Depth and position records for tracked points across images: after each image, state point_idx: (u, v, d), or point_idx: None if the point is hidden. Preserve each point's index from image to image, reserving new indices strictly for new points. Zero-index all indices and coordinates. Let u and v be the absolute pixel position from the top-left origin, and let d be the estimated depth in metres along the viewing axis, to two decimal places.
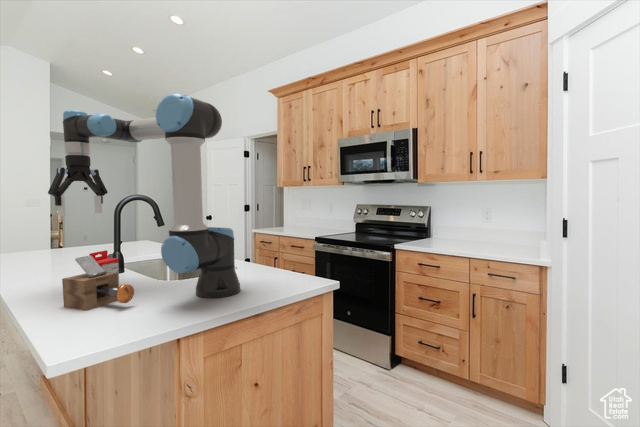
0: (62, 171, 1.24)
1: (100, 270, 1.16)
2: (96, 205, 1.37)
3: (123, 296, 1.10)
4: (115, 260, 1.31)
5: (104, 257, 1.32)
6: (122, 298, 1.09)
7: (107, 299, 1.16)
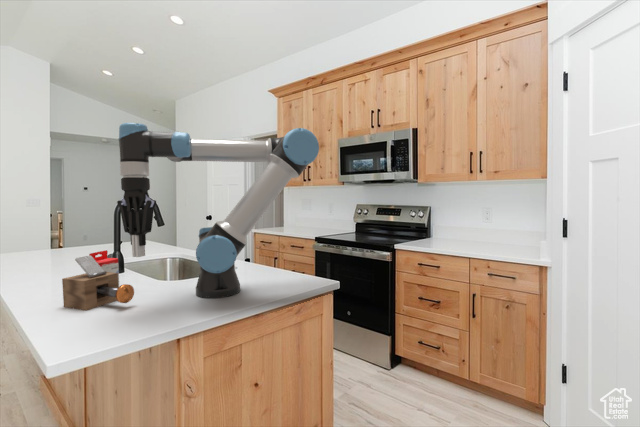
0: (119, 205, 1.08)
1: (100, 270, 1.16)
2: None
3: (123, 296, 1.10)
4: (115, 260, 1.31)
5: (104, 257, 1.32)
6: (122, 298, 1.09)
7: (107, 299, 1.16)
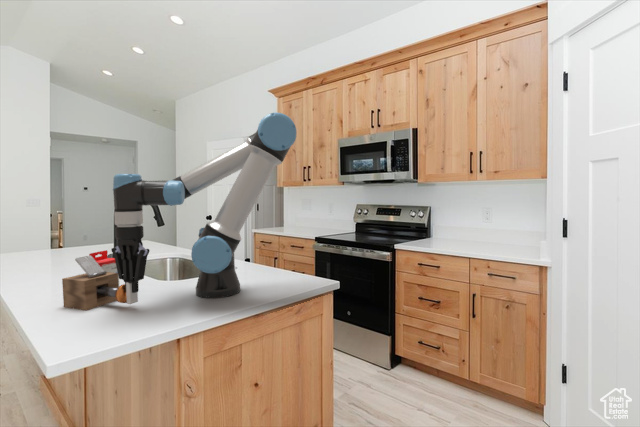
0: (113, 252, 1.10)
1: (100, 270, 1.16)
2: None
3: (122, 296, 1.10)
4: None
5: (104, 257, 1.32)
6: (121, 298, 1.09)
7: (107, 299, 1.16)
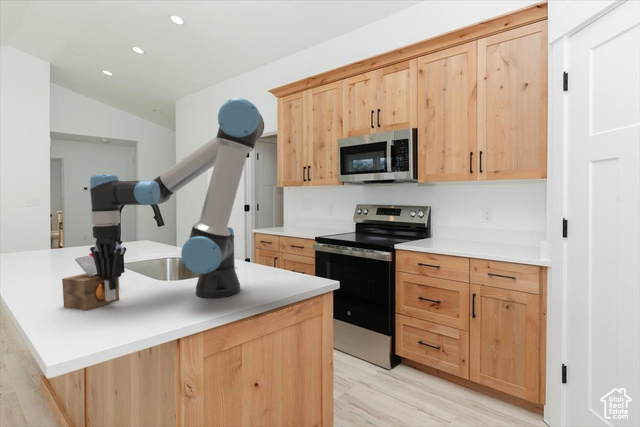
0: (92, 251, 1.13)
1: None
2: None
3: (101, 293, 1.13)
4: None
5: None
6: (101, 295, 1.13)
7: None
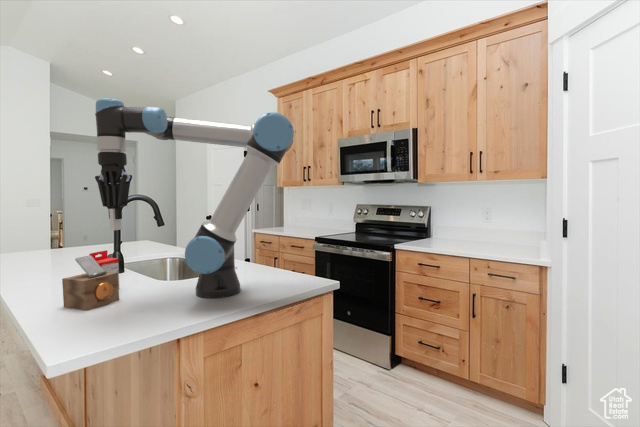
0: (97, 180, 1.11)
1: (100, 270, 1.16)
2: None
3: (101, 293, 1.13)
4: (115, 260, 1.31)
5: (104, 257, 1.32)
6: (101, 295, 1.13)
7: (107, 299, 1.16)
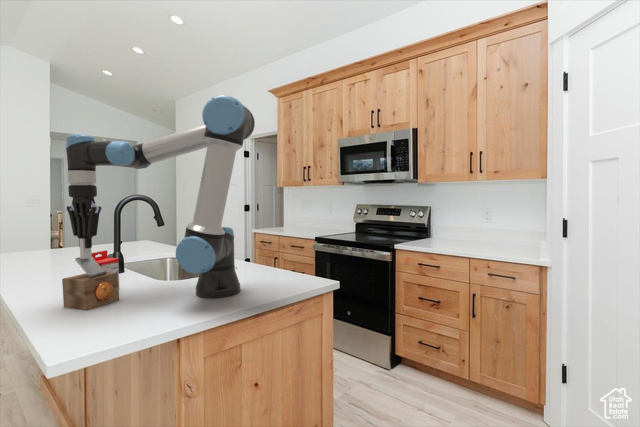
0: (68, 210, 1.16)
1: (100, 270, 1.16)
2: None
3: (101, 293, 1.13)
4: (115, 260, 1.31)
5: (104, 257, 1.32)
6: (101, 295, 1.13)
7: (107, 299, 1.16)
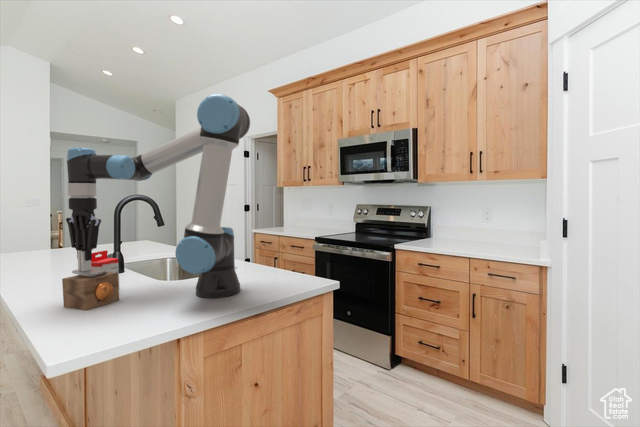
0: (67, 222, 1.16)
1: (99, 271, 1.17)
2: None
3: (101, 293, 1.13)
4: (115, 260, 1.31)
5: (104, 257, 1.32)
6: (101, 295, 1.13)
7: (107, 299, 1.16)
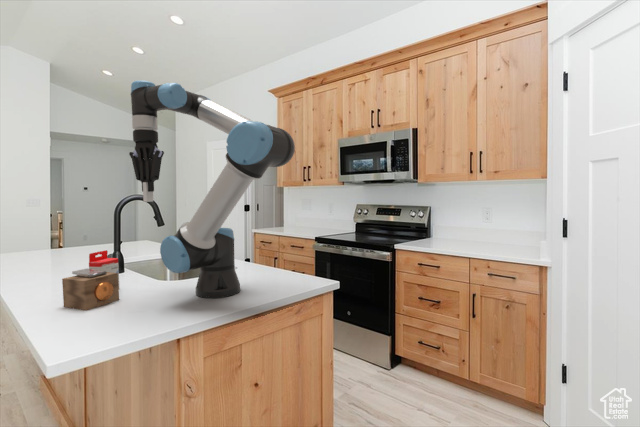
0: (131, 156, 1.21)
1: (99, 271, 1.17)
2: None
3: (101, 293, 1.13)
4: (115, 260, 1.31)
5: (104, 257, 1.32)
6: (101, 295, 1.13)
7: (107, 299, 1.16)
